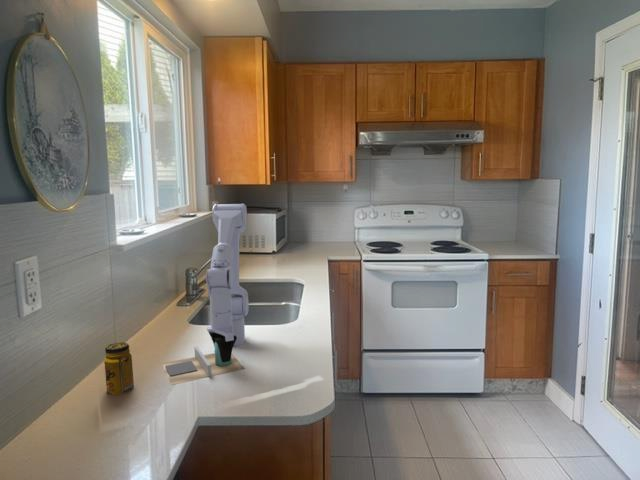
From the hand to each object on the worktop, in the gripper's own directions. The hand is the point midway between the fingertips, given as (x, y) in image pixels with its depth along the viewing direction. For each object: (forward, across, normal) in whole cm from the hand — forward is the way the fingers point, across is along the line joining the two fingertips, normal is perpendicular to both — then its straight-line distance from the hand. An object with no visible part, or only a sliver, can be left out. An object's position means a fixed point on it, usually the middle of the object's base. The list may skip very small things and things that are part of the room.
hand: (223, 358), depth 122 cm
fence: (+1, -1, -6) cm, 6 cm away
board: (+2, -1, -6) cm, 6 cm away
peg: (+1, 0, 0) cm, 1 cm away
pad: (+1, -2, -11) cm, 11 cm away
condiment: (+3, +2, -26) cm, 26 cm away
